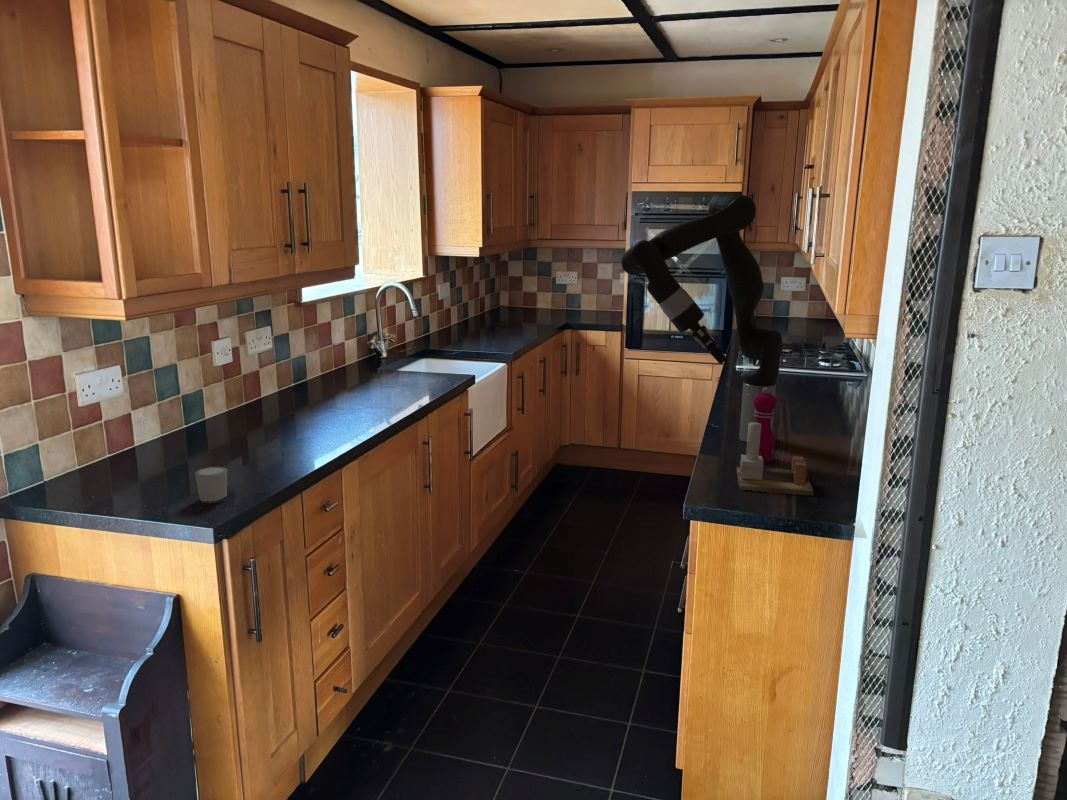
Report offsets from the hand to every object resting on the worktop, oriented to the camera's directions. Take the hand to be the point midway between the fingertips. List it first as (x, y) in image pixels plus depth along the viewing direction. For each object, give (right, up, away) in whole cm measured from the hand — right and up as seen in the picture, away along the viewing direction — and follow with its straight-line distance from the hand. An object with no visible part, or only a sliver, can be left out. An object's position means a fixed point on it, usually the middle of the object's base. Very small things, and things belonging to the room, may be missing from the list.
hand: (721, 359), depth 196 cm
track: (+13, -31, -1) cm, 33 cm away
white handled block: (+7, -29, 0) cm, 30 cm away
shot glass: (-121, -33, -17) cm, 126 cm away
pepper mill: (+15, -26, +19) cm, 36 cm away
